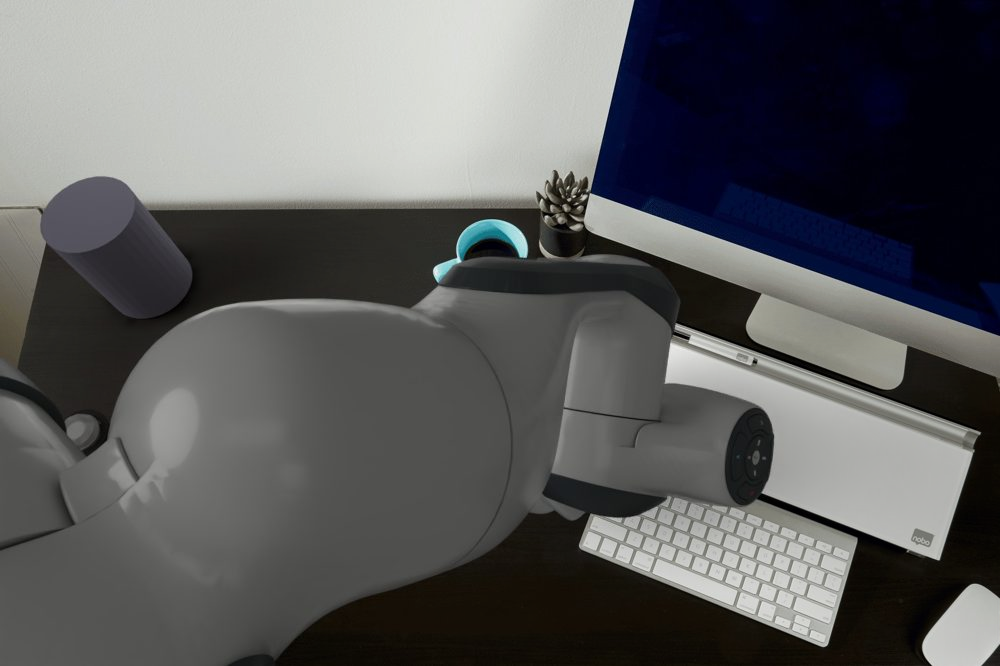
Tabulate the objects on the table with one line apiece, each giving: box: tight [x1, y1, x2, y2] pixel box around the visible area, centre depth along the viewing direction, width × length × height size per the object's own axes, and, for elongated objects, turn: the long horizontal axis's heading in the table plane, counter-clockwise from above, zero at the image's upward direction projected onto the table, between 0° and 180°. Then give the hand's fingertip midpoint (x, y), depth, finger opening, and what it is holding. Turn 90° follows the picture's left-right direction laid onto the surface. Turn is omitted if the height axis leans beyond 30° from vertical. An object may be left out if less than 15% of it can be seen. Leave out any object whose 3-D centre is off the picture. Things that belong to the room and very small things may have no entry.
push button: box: [64, 408, 110, 457], centre depth 78 cm, size 7×5×10 cm
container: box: [39, 175, 193, 320], centre depth 86 cm, size 10×10×15 cm
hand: (522, 404), depth 76 cm, fingers closed on bottle, 6 cm apart
